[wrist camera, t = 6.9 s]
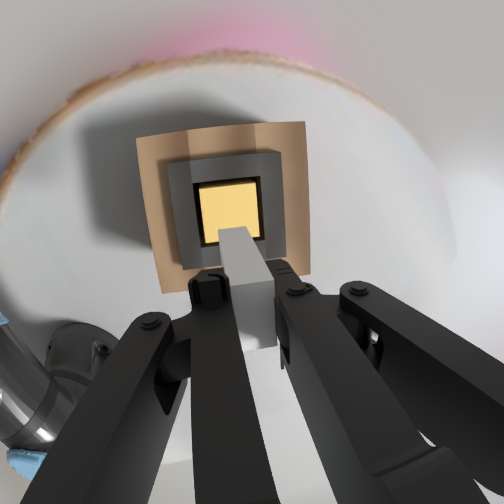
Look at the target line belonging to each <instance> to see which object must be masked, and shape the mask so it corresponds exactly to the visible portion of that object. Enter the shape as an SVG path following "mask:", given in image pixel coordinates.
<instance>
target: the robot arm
mask: <svg viewBox="0 0 504 504" xmlns="http://www.w3.org/2000/svg"><path fill="white" fill-rule="evenodd" d="M218 238H219V246H220V254H221V262H222V267H220V268H213V269H205V270H200V271H199V273H198V274H197V275H196V276H194V277H192V278H191V279H190V280H189V281H188V283H187V284H188V290H189V295H190V300H191V305H192V311H191V312H190V313H189V314H187V315H185V316H183V317H181V318H178V319H175V320H172V321H171V318H170V317H169V315H167V314H166V313H163V312H148V313H145V314H143V315H141V316H139V317H137V318H136V319H135V320H134V321H133V322H132V323H131V325H130V326H129V327H128V329H127V330H126V332H125V333H124V335H123V336H122V337H121V339H120V340H118V339H117V338H115V337H114V336H113V335H111V334H110V333H108V332H106V331H104V330H102V329H100V328H98V327H95V326H92V325H88V324H82V323H73V324H68V325H65V326H63V327H61V328H59V329H58V330H57V331H56V332H55V334H54V335H53V337H52V338H51V340H50V342H49V344H48V347H47V353H46V361H45V367H44V366H43V365H42V364H41V363H40V362H39V361H38V360H37V358H36V357H35V356H34V355H33V354H32V352H31V351H30V350H29V349H28V347H27V346H26V345H25V344H24V342H23V341H22V340H21V339H20V337H19V336H18V335H17V333H16V332H15V331H14V329H13V328H12V326H11V325H10V324H9V322H10V321H9V319H8V318H5V317H4V315H3V314H2V313H1V311H0V441H1V442H3V443H4V444H5V445H6V446H7V447H8V448H9V450H8V451H7V461H8V463H9V464H10V466H12V468H13V469H14V470H15V471H17V472H18V473H19V474H21V475H22V476H24V477H25V478H27V479H29V480H31V481H32V482H31V483H30V485H29V487H28V489H27V491H26V493H25V495H24V497H23V499H22V500H21V502H20V504H147V503H148V500H149V497H150V494H151V491H152V488H153V485H154V481H155V478H156V475H157V472H158V469H159V466H160V463H161V460H162V457H163V454H164V451H165V448H166V445H167V442H168V439H169V436H170V433H171V430H172V427H173V424H174V421H175V418H176V415H177V412H178V409H179V406H180V404H181V401H182V398H183V395H184V392H185V389H186V386H187V380H188V379H187V378H189V377H191V428H192V454H193V473H194V488H195V501H196V504H281V503H280V501H279V498H278V495H277V491H276V487H275V484H274V480H273V476H272V472H271V468H270V465H269V461H268V457H267V452H266V449H265V445H264V440H263V437H262V432H261V428H260V424H259V420H258V416H257V412H256V407H255V403H254V399H253V395H252V390H251V386H250V382H249V377H248V373H247V369H246V364H245V360H244V355H243V351H249V350H255V349H261V348H267V347H273V346H277V336H278V339H279V341H280V359H281V369H284V365H285V368H286V370H287V373H288V376H289V378H290V381H291V384H292V386H293V389H294V391H295V394H296V397H297V399H298V402H299V405H300V407H301V410H302V413H303V415H304V418H305V420H306V423H307V426H308V428H309V431H310V434H311V436H312V439H313V441H314V444H315V447H316V449H317V451H318V454H319V457H320V459H321V462H322V465H323V467H324V470H325V472H326V475H327V478H328V480H329V482H330V485H331V488H332V491H333V493H334V496H335V498H336V501H337V503H338V504H490V503H489V502H488V500H487V499H486V497H485V496H484V494H483V493H482V491H481V489H480V488H479V486H478V485H477V483H476V482H475V481H474V479H475V480H476V481H477V482H479V483H480V484H481V485H483V486H484V487H485V488H487V489H489V490H490V491H492V492H494V493H496V494H498V495H501V496H503V497H504V364H503V363H502V362H500V361H499V360H497V359H495V358H494V357H492V356H491V355H489V354H487V353H486V352H484V351H483V350H481V349H480V348H478V347H476V346H475V345H473V344H472V343H470V342H468V341H467V340H465V339H463V338H462V337H460V336H459V335H457V334H455V333H453V332H452V331H450V330H449V329H447V328H445V327H444V326H442V325H441V324H439V323H437V322H436V321H434V320H432V319H431V318H429V317H427V316H426V315H424V314H422V313H420V312H419V311H417V310H415V309H414V308H412V307H410V306H409V305H407V304H405V303H404V302H402V301H400V300H398V299H397V298H395V297H393V296H391V295H390V294H388V293H386V292H385V291H383V290H381V289H379V288H378V287H376V286H374V285H372V284H370V283H367V282H362V281H352V282H348V283H345V284H343V285H342V286H341V288H340V295H322V294H320V293H319V291H318V290H317V289H316V287H314V286H313V285H312V284H309V283H306V282H302V281H301V280H300V278H299V277H298V275H297V274H296V273H295V271H294V270H293V268H292V267H291V266H290V264H289V263H288V262H287V261H285V260H283V259H281V258H280V259H273V260H266V261H264V259H263V257H262V255H261V254H260V252H259V250H258V248H257V246H256V244H255V242H254V240H253V238H252V237H251V235H250V233H249V231H248V229H247V227H246V226H243V227H234V228H226V229H218ZM372 330H373V331H374V332H376V333H377V334H378V340H377V342H376V341H374V340H373V339H372V338H371V336H372ZM418 430H419V431H420V432H421V433H422V434H423V435H424V436H425V437H426V438H428V439H429V440H430V441H431V442H432V443H433V444H434V445H436V447H432V446H430V445H429V444H428V443H427V442H426V441H425V440H424V438H423V437H422V435H421V434H420V433H419V431H418Z"/></svg>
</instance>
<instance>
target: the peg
mask: <svg viewBox="0 0 504 504" xmlns="http://www.w3.org/2000/svg"><path fill="white" fill-rule="evenodd" d="M199 193H200V201H201V210H202V217H203V225H204V233H205V240H206V243H210V242H218V241H219V238H218V229H226V228H234V227H243V226H246V227H247V229H248V231H249V233H250V235H251V237H259V236H260V235H259V222H258V209H257V196H256V183H255V182H254V181H252V180H251V179H250V178H249V177H242V178H232V179H223V180H214V181H206V182H200V187H199Z"/></svg>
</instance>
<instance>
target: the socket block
mask: <svg viewBox="0 0 504 504" xmlns="http://www.w3.org/2000/svg"><path fill="white" fill-rule="evenodd" d="M136 145H137V154H138V162H139V170H140V178H141V185H142V192H143V198H144V204H145V211H146V217H147V222H148V228H149V233H150V239H151V244H152V249H153V254H154V259H155V264H156V269H157V273H158V278H159V282H160V287H161V291H162V294H163V293H172V292H181V291H189V290H188V284H187V283H188V281H189V280H190V279H191V278H192V277H194V276H196V275H197V274H198V273H199V271H200V270H205V269H213V268H220V267H222V262H221V254H220V246H219V241H218V242H210V243H206V240H205V233H204V225H203V217H202V210H201V201H200V193H199V183H198V182H206V181H214V180H223V179H232V178H242V177H249V178H250V179H251V180H252V181H254V182H255V183H256V196H257V209H258V222H259V235H260V236H259V237H252V238H253V240H254V242H255V244H256V246H257V248H258V250H259V252H260V254H261V255H262V257H263V259H264V261H266V260H273V259H280V258H281V259H283V260H285V261H287V262H288V263H289V264H290V266H291V267H292V268H293V270H294V271H295V273H296V274H297V275H298V276H301V275H308V274H310V210H309V181H308V160H307V143H306V127H305V121H301V122H270V123H252V124H239V125H227V126H217V127H208V128H199V129H191V130H184V131H177V132H170V133H164V134H158V135H152V136H146V137H141V138H136Z"/></svg>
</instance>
